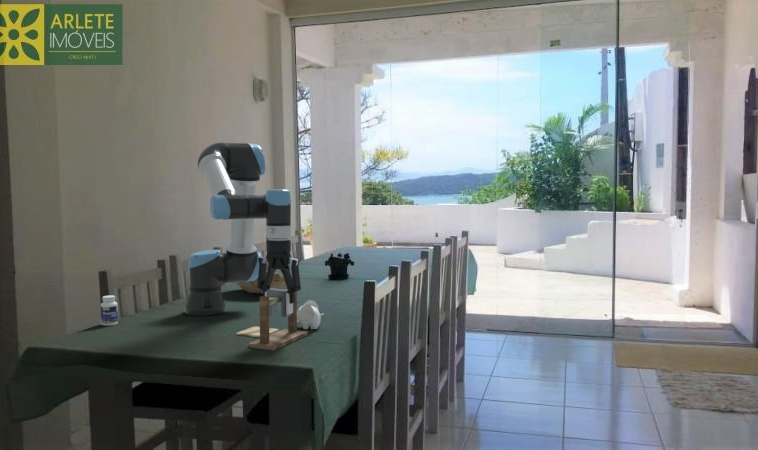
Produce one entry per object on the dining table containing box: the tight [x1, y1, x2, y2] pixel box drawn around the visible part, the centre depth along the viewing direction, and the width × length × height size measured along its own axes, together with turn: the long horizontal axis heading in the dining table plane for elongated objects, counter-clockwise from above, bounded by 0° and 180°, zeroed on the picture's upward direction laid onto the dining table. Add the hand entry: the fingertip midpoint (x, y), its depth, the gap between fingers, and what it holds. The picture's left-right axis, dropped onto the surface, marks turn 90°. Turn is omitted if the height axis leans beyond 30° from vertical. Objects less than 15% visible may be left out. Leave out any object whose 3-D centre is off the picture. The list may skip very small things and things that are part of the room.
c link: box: [267, 288, 291, 318], centre depth 189 cm, size 7×3×8 cm, turn 67°
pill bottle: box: [100, 294, 119, 326], centre depth 210 cm, size 5×5×10 cm
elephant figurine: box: [297, 299, 325, 330], centre depth 207 cm, size 10×12×9 cm
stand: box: [247, 291, 309, 352], centre depth 189 cm, size 20×9×15 cm, turn 157°
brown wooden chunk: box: [236, 270, 287, 295], centre depth 274 cm, size 30×27×15 cm
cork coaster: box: [236, 326, 280, 339], centre depth 200 cm, size 10×10×1 cm
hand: (279, 312), depth 189 cm, fingers closed on c link, 7 cm apart
